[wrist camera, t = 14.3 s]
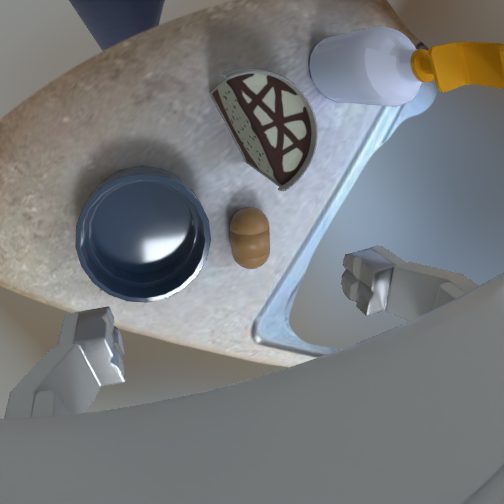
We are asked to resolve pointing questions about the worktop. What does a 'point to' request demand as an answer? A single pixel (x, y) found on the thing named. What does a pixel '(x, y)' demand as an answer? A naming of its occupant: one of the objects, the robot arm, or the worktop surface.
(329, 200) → the worktop surface
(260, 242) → the potato
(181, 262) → the bowl
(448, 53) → the soap bottle
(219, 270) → the worktop surface
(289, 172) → the cake slice
